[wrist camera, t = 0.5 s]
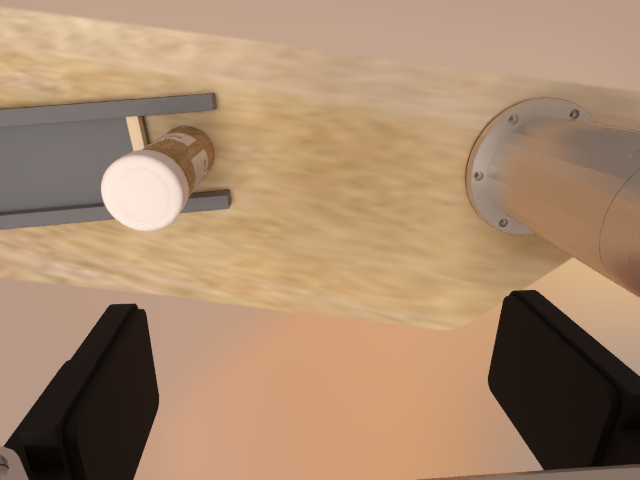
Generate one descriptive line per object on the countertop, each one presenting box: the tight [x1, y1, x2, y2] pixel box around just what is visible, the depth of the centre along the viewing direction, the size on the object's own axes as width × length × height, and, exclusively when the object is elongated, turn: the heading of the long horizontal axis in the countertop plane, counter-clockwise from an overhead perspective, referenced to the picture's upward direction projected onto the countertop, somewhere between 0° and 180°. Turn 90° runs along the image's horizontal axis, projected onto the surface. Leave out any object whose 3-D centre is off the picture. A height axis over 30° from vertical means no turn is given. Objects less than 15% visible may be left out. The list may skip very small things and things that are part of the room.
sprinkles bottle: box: [101, 127, 214, 231], centre depth 30 cm, size 5×5×14 cm
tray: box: [0, 93, 231, 230], centre depth 34 cm, size 22×9×3 cm, turn 94°
